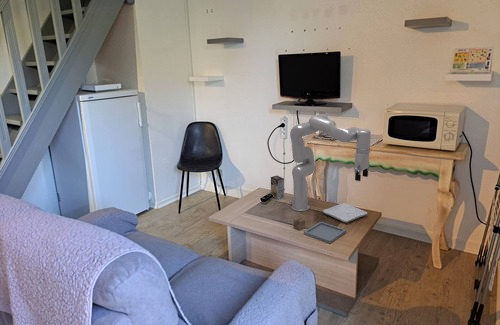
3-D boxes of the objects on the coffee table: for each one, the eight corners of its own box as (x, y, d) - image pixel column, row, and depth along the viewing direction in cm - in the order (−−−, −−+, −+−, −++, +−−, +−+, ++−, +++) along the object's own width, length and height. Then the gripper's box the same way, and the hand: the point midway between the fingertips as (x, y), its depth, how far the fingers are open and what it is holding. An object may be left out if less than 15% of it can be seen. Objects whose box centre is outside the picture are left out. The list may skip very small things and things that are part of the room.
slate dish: (303, 234, 215) (303, 231, 214) (320, 224, 227) (320, 221, 226) (330, 243, 202) (330, 241, 202) (346, 232, 215) (346, 229, 214)
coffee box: (270, 196, 275) (270, 176, 271) (277, 194, 278) (276, 175, 274) (277, 200, 268) (277, 179, 263) (284, 198, 271) (284, 178, 266)
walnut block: (293, 228, 223) (293, 219, 221) (298, 225, 226) (298, 216, 224) (300, 230, 219) (300, 221, 218) (304, 227, 223) (304, 219, 221)
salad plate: (345, 225, 224) (346, 220, 223) (321, 214, 241) (321, 210, 240) (368, 217, 235) (368, 212, 234) (343, 207, 252) (343, 202, 251)
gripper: (363, 146, 218) (362, 173, 222) (349, 152, 205) (348, 181, 210) (375, 148, 213) (373, 176, 217) (362, 154, 201) (360, 183, 205)
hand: (361, 178), depth 214 cm, fingers open, 9 cm apart
